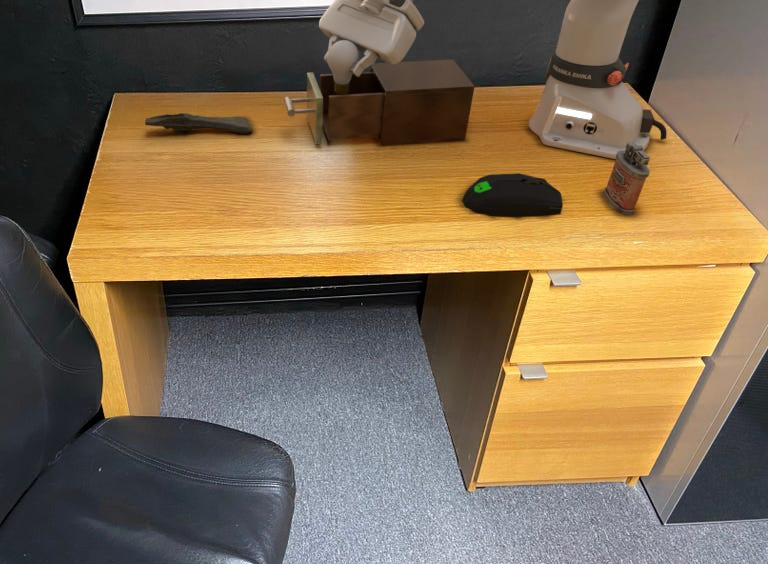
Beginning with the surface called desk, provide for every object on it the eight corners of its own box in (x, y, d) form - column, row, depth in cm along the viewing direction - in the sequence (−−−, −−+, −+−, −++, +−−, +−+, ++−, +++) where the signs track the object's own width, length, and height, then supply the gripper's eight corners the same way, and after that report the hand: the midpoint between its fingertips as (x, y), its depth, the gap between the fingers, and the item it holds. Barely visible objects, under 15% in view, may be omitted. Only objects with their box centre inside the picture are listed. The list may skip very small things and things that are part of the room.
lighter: (598, 191, 120) (617, 136, 113) (617, 190, 120) (637, 135, 113) (618, 215, 114) (639, 159, 107) (638, 214, 114) (660, 158, 107)
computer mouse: (454, 184, 122) (457, 163, 119) (545, 180, 122) (551, 159, 120) (471, 219, 113) (475, 197, 111) (569, 214, 114) (576, 193, 111)
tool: (247, 124, 143) (248, 109, 141) (253, 138, 137) (254, 122, 135) (144, 123, 138) (143, 107, 137) (145, 137, 132) (145, 121, 131)
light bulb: (335, 104, 129) (338, 49, 122) (320, 93, 133) (322, 38, 126) (362, 98, 131) (366, 43, 124) (346, 87, 135) (349, 33, 128)
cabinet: (380, 146, 133) (385, 91, 125) (366, 116, 142) (370, 63, 135) (464, 140, 134) (474, 86, 127) (444, 111, 144) (453, 59, 137)
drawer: (290, 145, 131) (289, 99, 125) (282, 117, 140) (282, 73, 134) (395, 139, 133) (400, 93, 127) (381, 112, 142) (385, 68, 136)
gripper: (338, -24, 129) (296, 42, 131) (416, 3, 117) (369, 75, 120) (354, -3, 134) (314, 61, 136) (431, 26, 122) (386, 94, 125)
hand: (340, 68), depth 128 cm, fingers closed on light bulb, 6 cm apart
